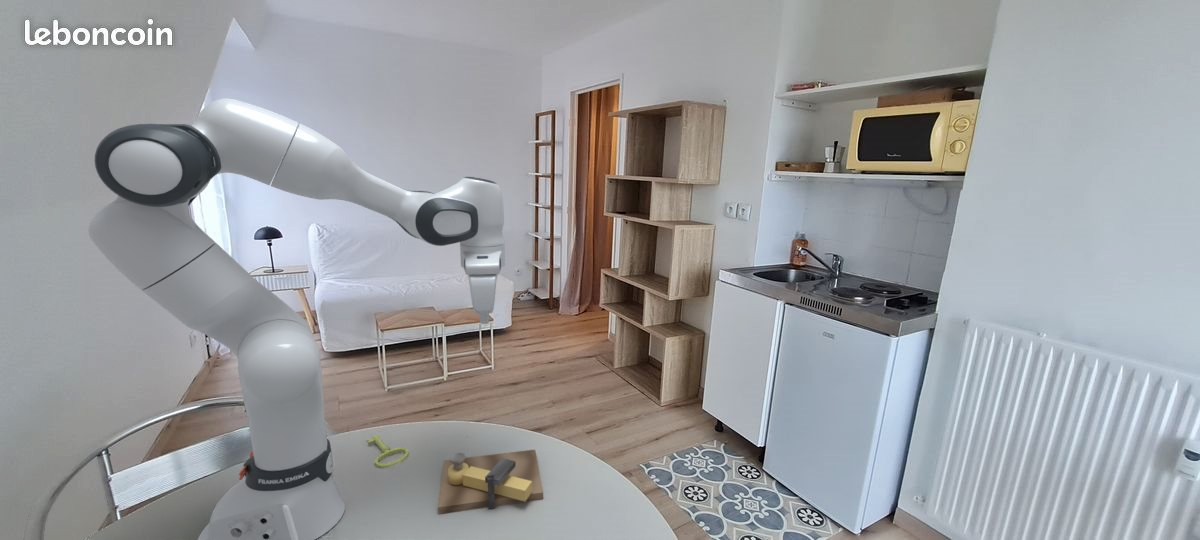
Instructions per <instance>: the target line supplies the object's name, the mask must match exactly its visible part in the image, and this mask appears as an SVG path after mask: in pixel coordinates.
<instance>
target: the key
mask: <svg viewBox="0 0 1200 540" xmlns="http://www.w3.org/2000/svg"><path fill="white" fill-rule="evenodd" d="M365 441H366V443H367V445H369V444H370V445H371V444H372V443H374V442H375V444H376V445H377V446H378V448H379V449H380V450H381V454H379V455H378V456H376V457H375V459H374V466H375V468H377V467H378V469H385V468H391V467H393V465H394V466H396V465H398V464H397V463H399V462H401V463H403V462H404V461H405V460H407V459H408V457H409V455H410V452H409V450H408V448H405V447H396V448H393V449H391V447H389V446H386V444H385V443H384V442H383V441H382V439H381V438H380V437H379V436H378V435H377V434H375V435H373V437H372V438H369V439H366V440H365ZM402 452H403V453H402ZM396 453H397V454H401V453H402V454H403V456H401V457H400V458H399V459H397V460H395V461H392V462H388V463H387V462H386V463H380V462H381V461H380V460H383V458H384V459H386V458H388V457H390V456H393V455H396ZM387 456H388V457H387ZM385 457H386V458H385ZM403 460H404V461H403ZM395 464H396V465H395ZM399 464H400V463H399ZM390 466H391V467H390Z"/></svg>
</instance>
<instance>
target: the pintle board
mask: <svg viewBox="0 0 1200 540" xmlns="http://www.w3.org/2000/svg"><path fill="white" fill-rule="evenodd" d="M463 463H466V464H467V465H468V468H470V467H471V466H472V467H477V468H481V469H485V470H489V471H490V472H489V473H488V474H487V475H486V476H485V482H486V483H488V492H487V491H483V490H479V489H475V488H471V487H468V486H464V485H463V484H460V485H453V484H451V483H449V476H448V468H449V467H450V466H451V465H453V464H454V469H455V470H459V469H461V468H462V467H463ZM508 475H509V476H513V477H517V478H521V479H525V480H529V481H532V493H531V494H530V496H529V497H528V498H527V500H526V501H521V500H517V499H513V498H510V497H506V496H502V495H498V494H494V485H497V486H499V485H500V484H501V483H502V482H503V481H504V480H505V478H506V477H507V476H508ZM439 489H440V490H439V496H438V502H437V503H438V504H437V513H438V515H442V514H450V513H457V512H464V511H469V510H471V511H472V510H477V509H485V508H488V510H496V507H497V506H499V507H500V506H506V505H511V504H518V503H525V502H526V503H527V502H531V501H532V502H533V501H539V500H544V490H543V485H542V479H541V474H540V469H539V462H538V458H537V452H536V449H529V450H528V449H527V450H520V451H519V450H518V451H512V452H511V451H509V452H504V453H503V452H502V453H494V454H487V455H486V454H485V455H478V456H470V457H466V455H465V454H464V453H462V452H457V453H453V454H452V455H451V456H450V459H446V460H445V459H444V460H443V466H442V473H441V482H440V487H439Z"/></svg>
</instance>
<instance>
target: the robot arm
mask: <svg viewBox="0 0 1200 540" xmlns="http://www.w3.org/2000/svg"><path fill="white" fill-rule="evenodd" d="M94 167H95V170H96V174H97V175H98V177H99V178H100V180H101V181H102V182H103V184H104V186H105V187H107V188H108V189H109V190H110V191H111V192H112V193H114V194H115V195H117V196H116V198H115V199H114V201H112V202H111V203H108V204H107V205H105V206H104V207H102V208H101V209H100V210H99V211H97V213H96V214H94V216H93V217H92V219H91V221H90V222H89V225H88V235H89V237H90V239H91V241H92V242H93V244H94V245H95V246H96V247H97V249H99V251H100V252H101V253H102V254H103V256H104V257H105V258H106V259H107V260H108V261H109V262H110V263H111V264H112V265H113V266H114V268H116V269H117V270H118V271H119V272H120V273H121V274H122V275H123V276H124V277H125V278H127V280H128V281H130V282H131V283H132V284H133V285H134V286H135V287H136V288H138V289H139V290H141V291H142V292H143V293H144V294H146V295H147V296H148V297H150V298H151V300H152V301H154V302H156V303H157V304H158V305H159V306H161V307H162V308H163V309H164V310H165V311H167V312H168V313H170V314H171V315H172V316H173V317H175V318H176V319H177V320H178V321H179V322H181V324H183V325H185V326H186V327H188V328H189V329H192V330H195V331H197V332H200V333H202V334H204V335H205V336H206V337H209V338H211V339H212V340H214V341H216V342H217V343H219V344H221V345H223V346H224V347H226V348H228V350H230V351H231V352H232V353H233V354H234V355H235V356H236V358H237V371H238V378H239V383H240V388H241V389H240V390H241V394H242V399H243V403H244V410H245V413H246V417H247V418H246V419H247V422H248V427H249V434H250V440H251V446H252V450H251V452H249V458H248V459H247V460H246V461H245V462H244V464H243V468H242V469H241V470H240V471H239V473H238V476H239V481H238V482H237V483H236V484H234V485H233V486H232V487H230V488H229V489H228V491H226V492H225V494H224V495H223V496H222V497H221V498H220V500H218V502H217V503H216V505H215V507H214V509H213V511H212V513H211V515H210V518H209V522H208V523H207V525H206V526H205V527H204V529H202V531H201V533H200V534H199V536H198V537H197V538H196V540H316V539H318V538H320V537H321V536H323V535H324V534H327V532H329V531H330V530H331V529H332V528H334V526H336V525H337V524H338V523H339V521H340V520H341V518H342V517H343V515H344V513H345V510H346V509H345V508H346V505H345V504H346V503H345V500H344V499H343V498H342V496H341V494H340V492H339V489H338V486H337V484H336V480H335V477H334V456H333V452H332V446H331V442H330V439H329V438H328V434H327V426H326V420H325V418H326V417H325V410H324V409H325V408H324V391H323V390H324V389H323V387H324V386H323V371H322V359H321V353H320V348H319V347H318V344H317V341H316V339H315V336H314V333H313V331H312V329H311V326H310V325H309V323H308V322H307V321H306V320H305V318H303V317H302V316H301V315H300V314H299V313H298V312H297V311H295V310H294V309H293V308H292V307H290V306H289V305H288V304H287V303H286V302H285V301H283V300H282V299H281V298H280V297H279V296H278V295H276V294H274V293H273V291H272V290H269V289H268V288H267V287H266V286H264V285H263V284H262V283H261V282H260V281H259V280H257V279H255V277H254V276H252V275H251V274H250V273H249V272H248V271H247V270H246V269H244V267H243V266H241V264H239V263H238V261H236V260H235V258H233V257H232V256H231V255H230V254H229V253H227V251H225V250H224V249H223V248H222V246H220V245H219V244H218V243H217V242H216V241H215V240H214V239H213V238H211V237H210V236H209V235H208V234H207V233H206V232H205V231H204V230H203V229H202V228H201V227H200V226H199V225H198V224H197V223H196V221H195V220H194V219H193V218H192V217H191V215H190V212H189V209H188V208H189V206H190V205H191V204H192V203H193V202H194V200H195V199H196V198H197V197H198V196H199V195H200V194H201V193H202V192H203V191H205V189H206V188H207V187H208V185H209V184H210V181H211V180H213V178H214V177H215V176H217V175H219V174H225V173H226V174H236V175H240V176H243V177H246V178H249V179H252V180H254V181H257V182H260V183H262V184H265V185H267V186H270V187H272V188H275V189H278V190H281V191H283V192H287V193H289V194H293V195H297V196H299V197H304V198H309V199H314V200H319V201H320V200H322V201H323V200H338V201H346V202H349V203H351V204H352V203H353V204H356V205H357V206H361V207H363V208H366V209H368V210H371V211H373V212H375V213H378V214H381V215H383V216H384V217H386V218H387V217H388V218H389V219H392V220H393V221H395V223H396V224H398V225H399V226H400V228H401V229H402V230H403V231H404V232H406V234H408V235H409V236H411V237H413V238H415V239H417V240H418V239H419V240H421V241H423V242H424V243H427V244H429V245H431V246H435V247H436V246H437V247H442V246H443V247H444V246H449V245H453V244H458V243H459V250H460V253H459V254H460V255H459V256H460V267H461V268H463V270H464V272H465V275H467V277H468V283H469V290H470V296H471V297H470V298H471V303H472V304H471V305H472V309H473V310H472V311H473V313H474V314H476V315H479V323H480V324H481V325H488V324H489V323H490V314H492V313H493V312H494V310H495V309H494V308H495V301H496V290H497V289H496V288H497V282H498V281H497V279H498V275H499V274H500V272H501V270H502V268H503V267H505V265H506V263H505V261H506V259H505V257H506V256H505V239H504V236H503V235H504V234H503V229H504V224H505V213H504V212H505V211H504V199H503V194H502V189H501V187H500V185H499V184H497V182H495V181H493V180H491V179H490V180H489V179H485V178H482V177H474V176H465V177H462V178H461V179H460V180H459V181H457V182H456V183H455V184H453V185H451V186H450V187H448V188H445V189H443V190H441V191H437V192H436V193H434V192H431V191H427V190H407V189H404V188H401V187H399V186H397V185H395V184H393V183H390V182H388V181H386V180H384V179H382V178H380V177H377V176H375V175H373V174H371V173H369V172H367V171H366V170H364V169H363V168H361V167H359V166H358V165H357V164H356V163H355V162H354V161H353V160H352V159H351V158H350V157H349V155H348V154H347V153H346V152H345V150H344V149H343V148H342V147H341V146H339V145H338V144H336V143H335V142H334V141H332V140H330V139H329V138H327V137H326V136H325V135H323V134H321V133H320V132H317V131H316V130H315V129H312V128H311V127H308V126H307V125H305V124H303V123H300V122H298V121H296V120H293V119H292V118H290V117H287V116H284V115H282V114H280V113H277V112H274V111H273V110H269V109H268V108H267V109H266V108H264V107H261V106H258V105H255V104H252V103H249V102H245V101H243V100H239V99H235V98H229V97H223V98H218V99H214V100H213V101H211V102H209V103H208V104H206V105H205V107H203V109H202V110H200V112H199V114H198V116H197V118H196V119H195V120H194V122H193V123H192V124H191V125H190V124H185V123H183V124H182V123H181V124H180V123H175V124H172V123H168V124H167V123H156V122H151V123H150V122H145V123H139V124H131V125H130V124H129V125H126V126H122V127H119V128H117V129H114V130H112V131H111V132H109V133H108V134H107V135H105V136H104V137H103V139H101V140H100V142H99V144H98V146H97V147H96V150H95V153H94Z"/></svg>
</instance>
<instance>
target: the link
mask: <svg viewBox="0 0 1200 540" xmlns="http://www.w3.org/2000/svg"><path fill="white" fill-rule="evenodd" d="M489 472H490V471H489V470H485V469H481V468H477V467H472V466H471V467H470V468H468V465H467V464H466V463H463V467H462V468H461V469H459V470H455V469H454V464H453V465H451V466H450V467H449V468H448V476H449V483H451V484H453V485H460V484H463V485H464V486H468V487H471V488H475V489H479V490H483V491H487V492H488V483H486V482H485V476H486V475H487V474H488V473H489ZM531 493H532V481H529V480H525V479H521V478H517V477H513V476H509V475H508V476H507V477H506V478H505V480H504V481H503V482H502V483H501V484H500V485H499V486H497V485H494V494H498V495H502V496H506V497H510V498H513V499H517V500H521V501H526V500H527V498H528V497H529V496H530V494H531ZM526 502H527V501H526Z"/></svg>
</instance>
